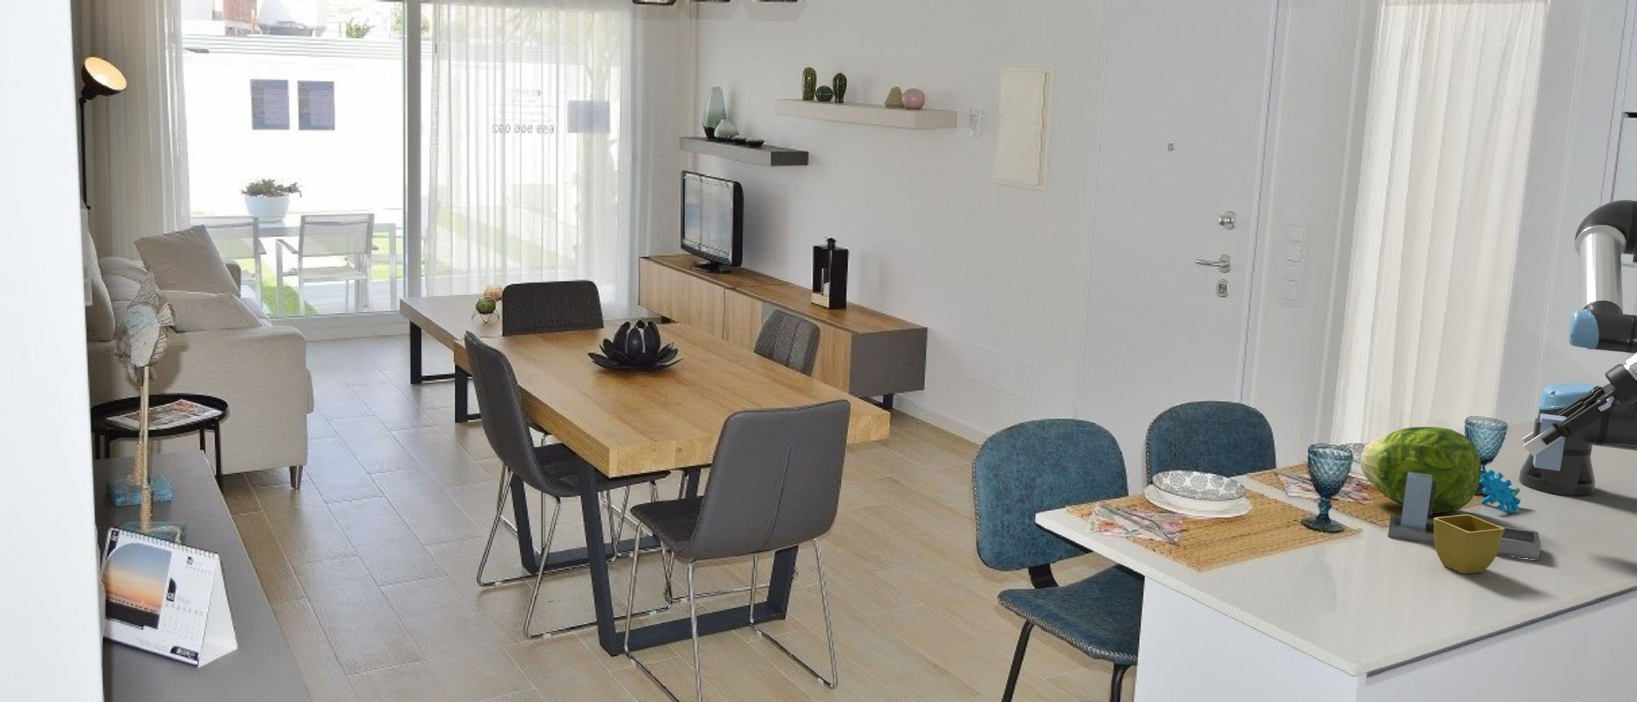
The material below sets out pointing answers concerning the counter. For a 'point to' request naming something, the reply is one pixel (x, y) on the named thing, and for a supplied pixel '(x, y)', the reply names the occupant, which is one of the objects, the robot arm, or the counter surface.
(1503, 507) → the blue splash shape
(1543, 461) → the blue block
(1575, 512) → the counter surface
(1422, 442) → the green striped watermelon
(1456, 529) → the flower pot
